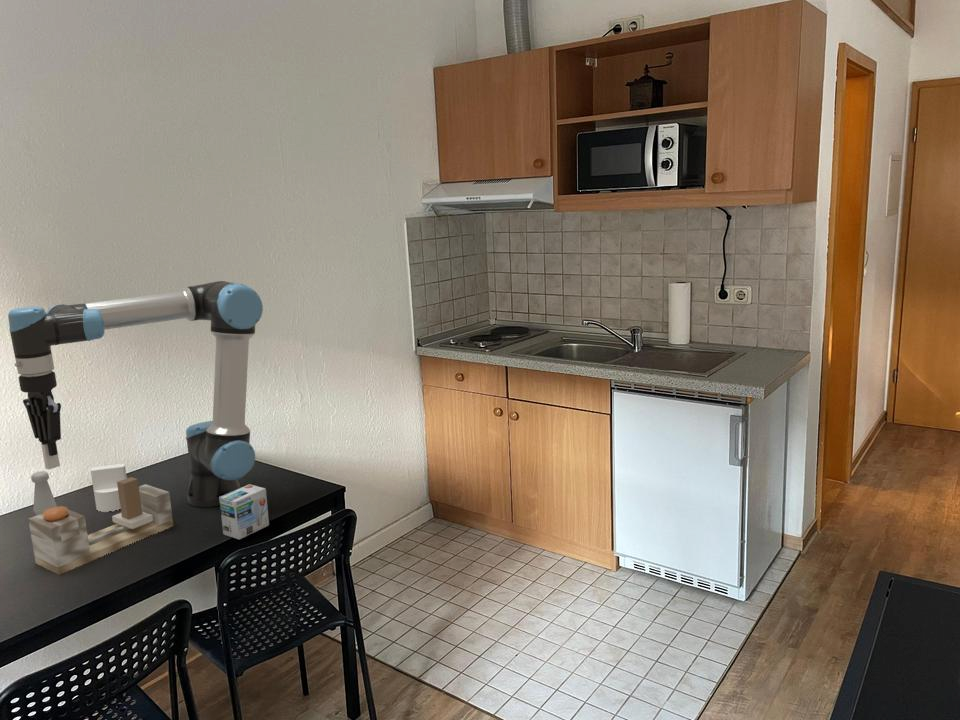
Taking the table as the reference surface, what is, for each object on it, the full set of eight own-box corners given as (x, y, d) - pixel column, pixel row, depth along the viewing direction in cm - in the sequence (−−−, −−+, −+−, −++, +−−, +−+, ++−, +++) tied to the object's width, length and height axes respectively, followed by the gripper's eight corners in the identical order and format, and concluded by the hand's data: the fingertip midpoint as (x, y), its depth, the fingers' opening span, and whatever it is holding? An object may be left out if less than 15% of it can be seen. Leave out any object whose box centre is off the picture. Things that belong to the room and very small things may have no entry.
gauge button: (63, 524, 189) (60, 504, 188) (74, 529, 186) (71, 509, 185) (42, 532, 184) (38, 512, 183) (53, 537, 182) (50, 516, 180)
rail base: (149, 517, 212) (144, 477, 209) (173, 526, 206) (168, 484, 203) (35, 563, 187) (28, 518, 184) (59, 574, 181) (51, 528, 178)
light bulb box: (239, 540, 196) (235, 501, 194) (222, 535, 200) (217, 497, 197) (270, 524, 205) (266, 487, 203) (253, 519, 208) (249, 483, 206)
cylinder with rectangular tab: (132, 497, 227) (126, 460, 224) (128, 509, 218) (122, 470, 216) (99, 502, 224) (93, 464, 221) (94, 514, 216) (87, 474, 213)
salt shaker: (47, 520, 212) (40, 477, 209) (29, 519, 213) (22, 476, 210) (62, 512, 218) (55, 469, 215) (45, 510, 219) (38, 468, 216)
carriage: (133, 513, 206) (128, 473, 204) (153, 520, 202) (147, 479, 199) (112, 521, 202) (106, 480, 199) (132, 529, 197) (126, 487, 194)
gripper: (5, 373, 178) (23, 467, 184) (34, 379, 171) (51, 477, 176) (38, 366, 184) (54, 458, 190) (67, 372, 177) (82, 466, 183)
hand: (52, 467), depth 183 cm, fingers closed
